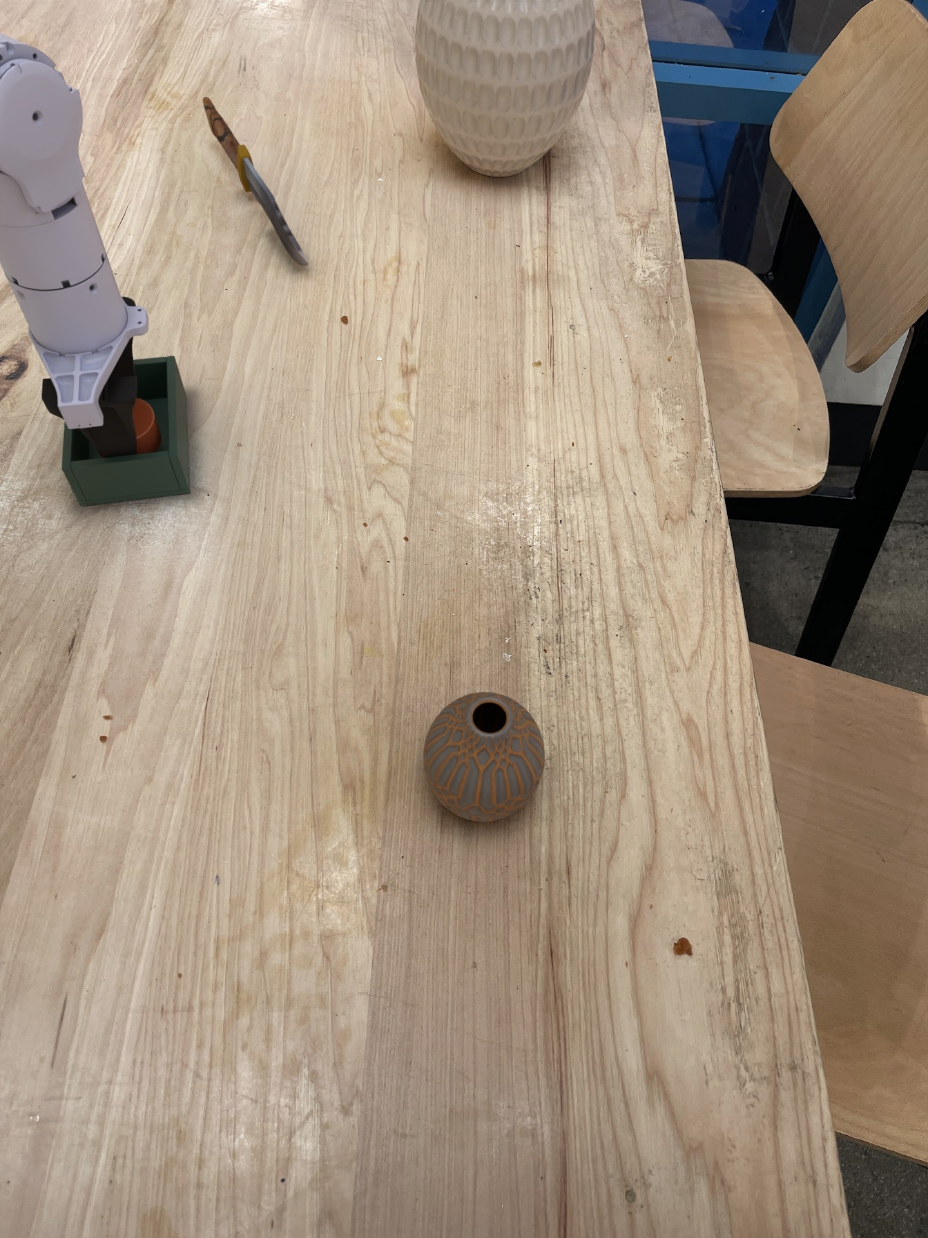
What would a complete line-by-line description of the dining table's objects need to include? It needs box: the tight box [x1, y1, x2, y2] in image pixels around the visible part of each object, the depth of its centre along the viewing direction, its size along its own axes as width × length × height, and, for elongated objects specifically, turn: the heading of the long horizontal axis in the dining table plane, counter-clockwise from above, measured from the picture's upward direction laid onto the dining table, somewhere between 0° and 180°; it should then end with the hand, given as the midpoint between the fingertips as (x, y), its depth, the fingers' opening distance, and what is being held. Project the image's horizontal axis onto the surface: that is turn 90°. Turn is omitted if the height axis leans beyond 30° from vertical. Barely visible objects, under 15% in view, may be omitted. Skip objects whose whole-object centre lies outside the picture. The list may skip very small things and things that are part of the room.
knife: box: [202, 96, 310, 267], centre depth 81 cm, size 25×1×5 cm, turn 28°
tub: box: [61, 355, 191, 507], centre depth 65 cm, size 8×10×4 cm
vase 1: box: [414, 0, 596, 178], centre depth 80 cm, size 16×16×22 cm
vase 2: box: [422, 691, 546, 822], centre depth 50 cm, size 7×7×9 cm
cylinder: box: [96, 398, 162, 458], centre depth 63 cm, size 5×5×2 cm
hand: (122, 427), depth 63 cm, fingers closed on cylinder, 4 cm apart
